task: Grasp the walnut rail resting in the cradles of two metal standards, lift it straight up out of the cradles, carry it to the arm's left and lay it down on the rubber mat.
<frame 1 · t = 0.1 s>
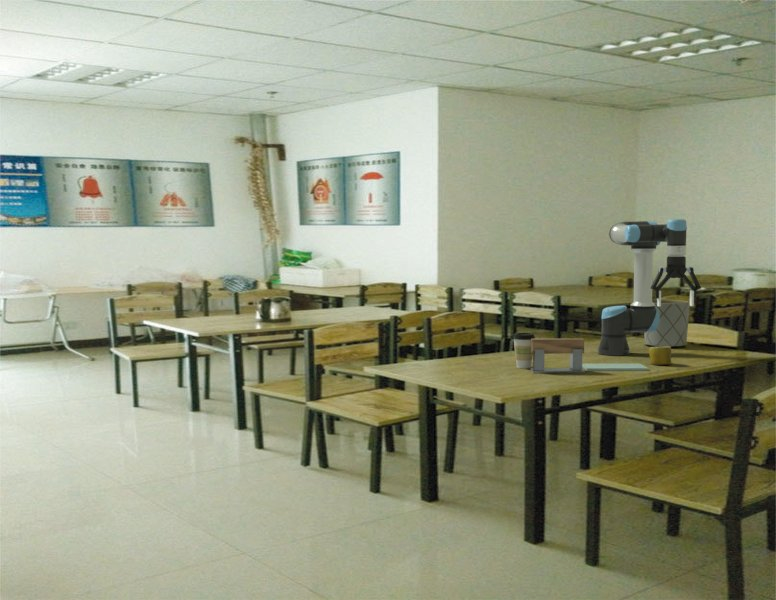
hand: (675, 306, 320), 28 cm above the table, fingers open, 13 cm apart
coffee cup: (523, 367, 337), on the table
standards: (557, 371, 326), on the table
rail: (557, 352, 325), point 8 cm above the table, touching standards
mug: (659, 364, 342), on the table
planter: (665, 346, 395), on the table
mat: (614, 368, 332), on the table
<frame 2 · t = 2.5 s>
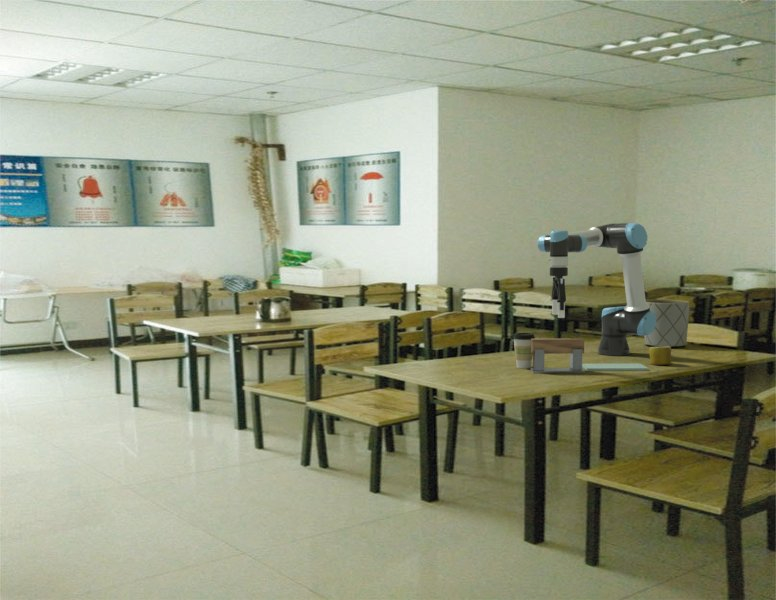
hand: (558, 316, 324), 24 cm above the table, fingers open, 13 cm apart
nothing on the table moved.
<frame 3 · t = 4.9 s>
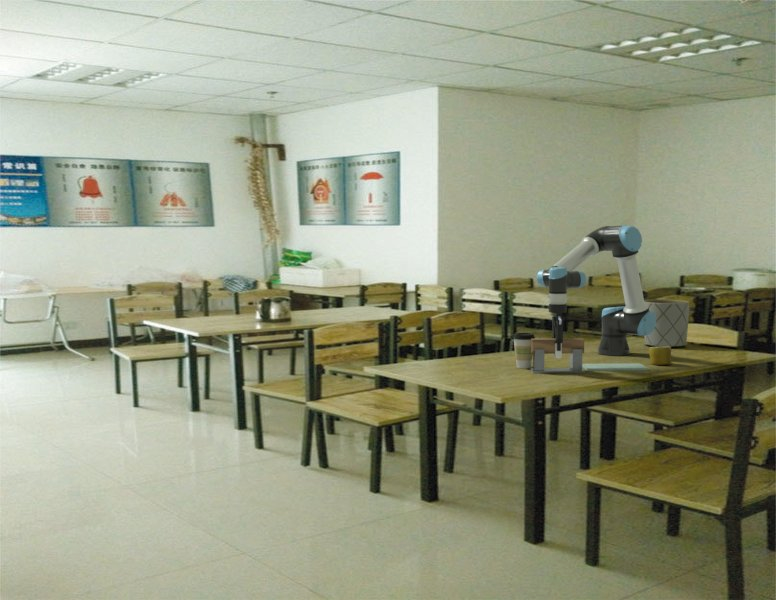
hand: (557, 357, 325), 6 cm above the table, fingers closed on rail, 4 cm apart
rail: (557, 352, 325), point 8 cm above the table, touching gripper, standards
everything else where it was.
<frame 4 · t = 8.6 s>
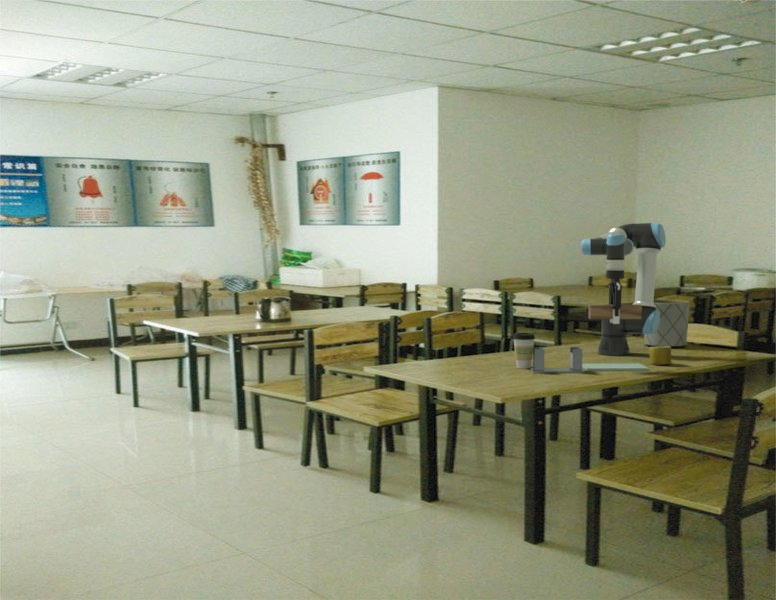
hand: (614, 322, 330), 20 cm above the table, fingers closed on rail, 4 cm apart
rail: (614, 318, 330), point 22 cm above the table, touching gripper
everything else where it was.
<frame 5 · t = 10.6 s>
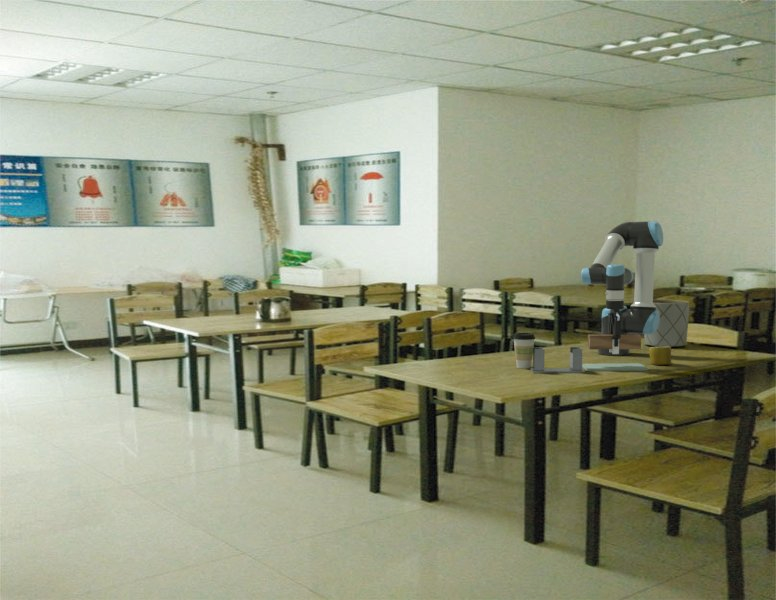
hand: (614, 352, 331), 7 cm above the table, fingers closed on rail, 4 cm apart
rail: (614, 348, 331), point 9 cm above the table, touching gripper
everything else where it was.
when the fingers open (2 cm above the table, at t = 12.4 s): rail drops 2 cm, resting on mat.
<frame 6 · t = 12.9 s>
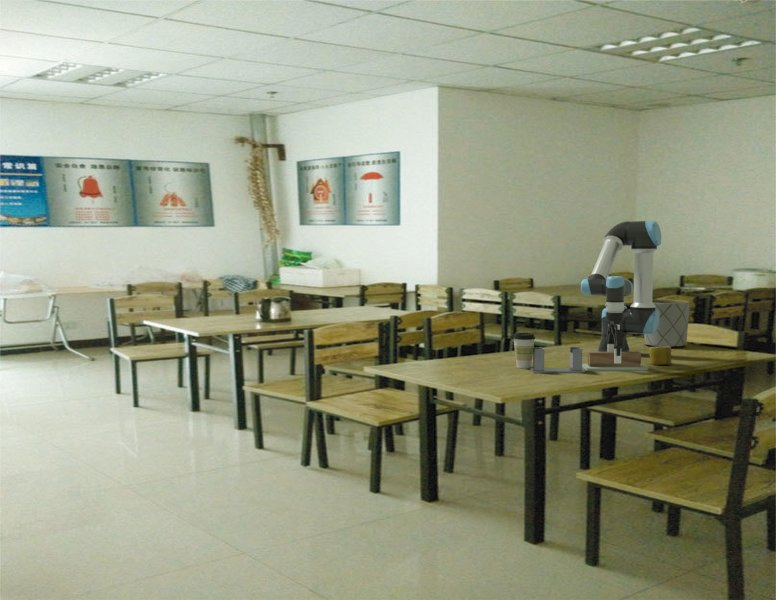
hand: (614, 360, 331), 3 cm above the table, fingers open, 11 cm apart
rail: (614, 365, 332), point 1 cm above the table, touching mat
everything else where it was.
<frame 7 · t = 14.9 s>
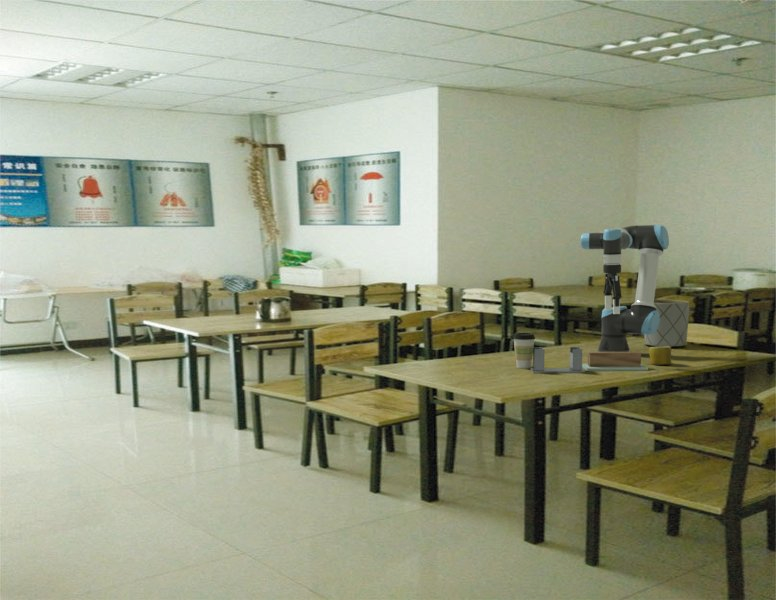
hand: (612, 312, 334), 24 cm above the table, fingers open, 13 cm apart
nothing on the table moved.
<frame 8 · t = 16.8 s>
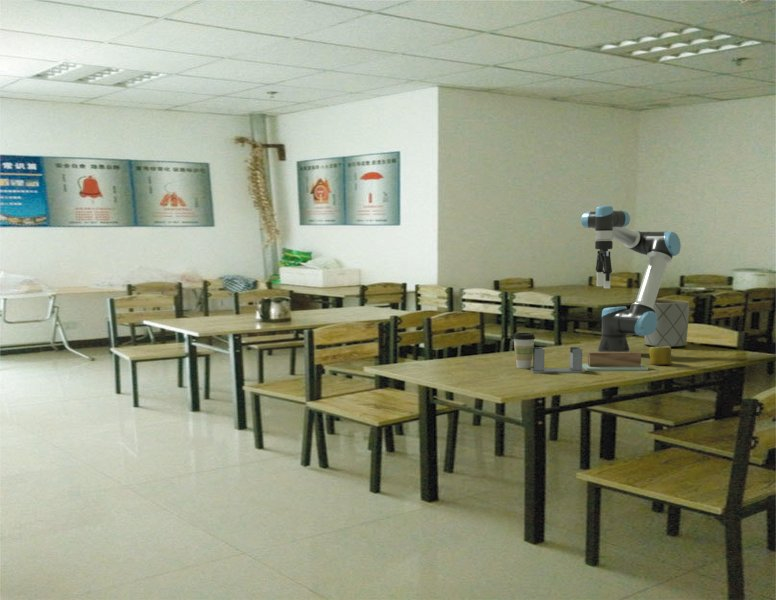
hand: (603, 287, 342), 35 cm above the table, fingers open, 13 cm apart
nothing on the table moved.
at the end: rail inside the target area on the mat (0.1 cm from its centre), point 1.0 cm above the mat's base; rail touching mat; the gripper is holding nothing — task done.
